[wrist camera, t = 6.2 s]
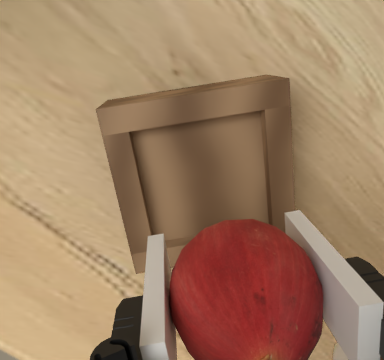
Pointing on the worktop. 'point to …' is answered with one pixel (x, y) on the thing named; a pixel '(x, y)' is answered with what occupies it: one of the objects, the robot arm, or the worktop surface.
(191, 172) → the walnut tray
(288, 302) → the pomegranate
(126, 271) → the worktop surface
